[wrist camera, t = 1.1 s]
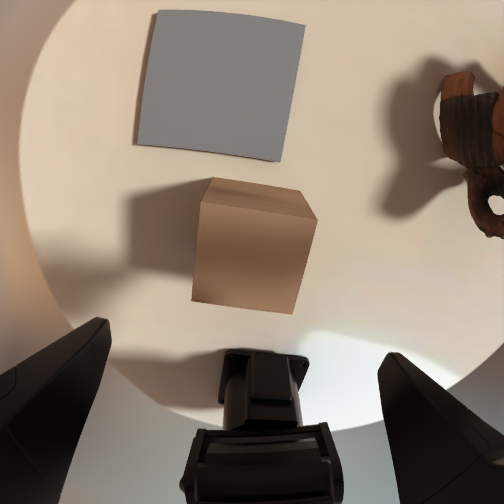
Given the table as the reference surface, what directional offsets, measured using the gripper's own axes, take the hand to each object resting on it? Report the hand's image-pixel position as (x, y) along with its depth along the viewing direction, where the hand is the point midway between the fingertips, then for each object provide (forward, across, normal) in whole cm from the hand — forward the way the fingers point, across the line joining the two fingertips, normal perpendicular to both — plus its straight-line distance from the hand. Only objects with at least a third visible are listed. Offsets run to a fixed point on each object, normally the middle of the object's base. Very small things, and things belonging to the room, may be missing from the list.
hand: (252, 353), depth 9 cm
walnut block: (+11, 0, 0) cm, 11 cm away
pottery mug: (+11, -15, -9) cm, 20 cm away
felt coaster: (+10, +3, -8) cm, 14 cm away
